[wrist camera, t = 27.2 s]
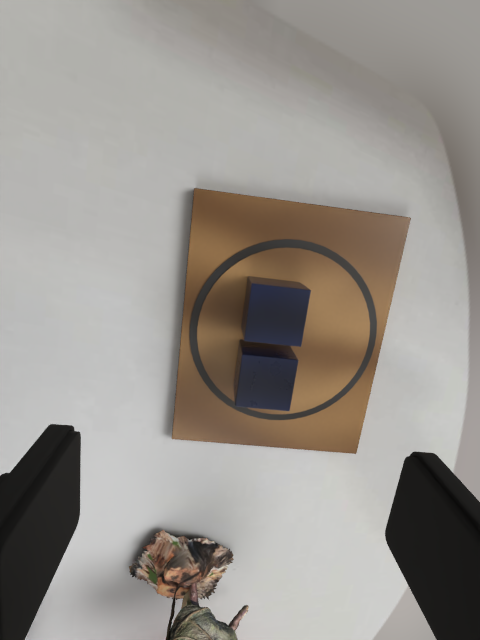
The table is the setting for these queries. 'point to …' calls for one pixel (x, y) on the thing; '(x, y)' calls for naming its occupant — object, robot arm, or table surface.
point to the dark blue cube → (275, 311)
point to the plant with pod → (187, 583)
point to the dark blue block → (264, 376)
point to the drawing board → (320, 327)
